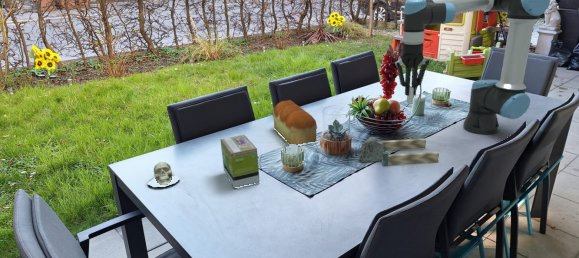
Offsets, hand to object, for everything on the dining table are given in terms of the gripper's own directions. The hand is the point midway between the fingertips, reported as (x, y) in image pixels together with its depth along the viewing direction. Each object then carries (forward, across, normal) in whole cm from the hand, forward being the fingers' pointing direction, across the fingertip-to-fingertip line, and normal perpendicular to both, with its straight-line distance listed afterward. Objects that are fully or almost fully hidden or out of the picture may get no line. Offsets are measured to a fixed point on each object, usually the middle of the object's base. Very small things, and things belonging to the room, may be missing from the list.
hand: (409, 103), depth 166 cm
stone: (+22, +15, +1) cm, 27 cm away
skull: (+22, +97, +10) cm, 100 cm away
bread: (+22, +44, -28) cm, 57 cm away
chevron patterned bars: (+22, +1, +1) cm, 22 cm away
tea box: (+22, +67, +12) cm, 72 cm away
